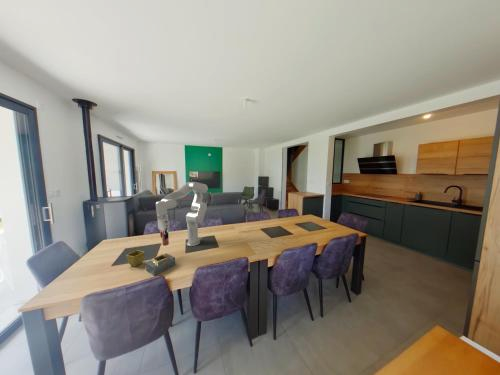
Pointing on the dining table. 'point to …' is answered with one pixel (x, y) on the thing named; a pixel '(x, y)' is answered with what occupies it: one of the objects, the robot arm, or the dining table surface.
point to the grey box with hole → (160, 264)
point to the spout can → (165, 241)
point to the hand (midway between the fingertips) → (164, 237)
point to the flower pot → (135, 257)
